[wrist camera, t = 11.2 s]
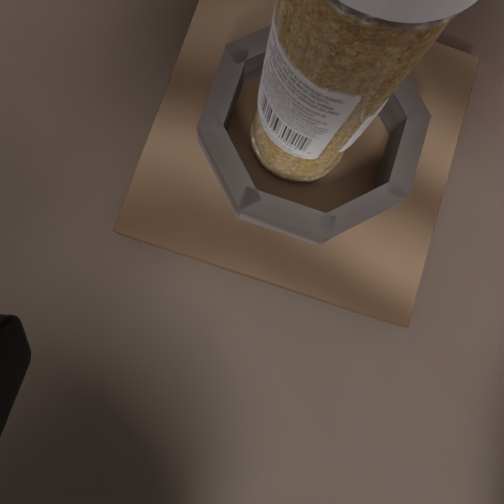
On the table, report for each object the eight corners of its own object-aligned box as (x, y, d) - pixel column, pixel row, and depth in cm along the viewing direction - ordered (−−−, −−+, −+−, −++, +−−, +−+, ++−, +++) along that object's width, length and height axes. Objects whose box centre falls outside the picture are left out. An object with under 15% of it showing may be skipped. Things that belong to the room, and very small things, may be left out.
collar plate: (398, 326, 21) (428, 330, 18) (118, 233, 20) (100, 222, 17) (468, 68, 22) (506, 32, 19) (213, -23, 22) (213, -74, 19)
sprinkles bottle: (359, 160, 20) (632, -110, 7) (274, 201, 20) (394, -10, 6) (315, 77, 21) (496, -334, 7) (230, 114, 20) (258, -257, 7)
